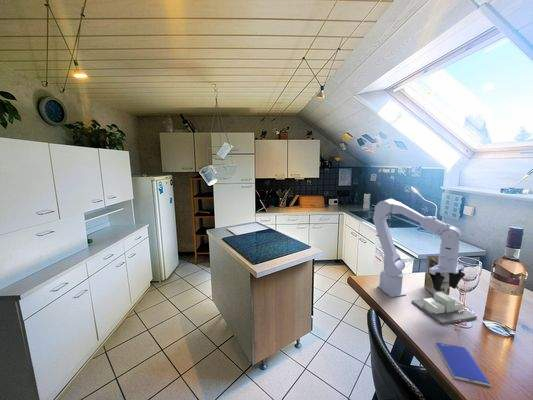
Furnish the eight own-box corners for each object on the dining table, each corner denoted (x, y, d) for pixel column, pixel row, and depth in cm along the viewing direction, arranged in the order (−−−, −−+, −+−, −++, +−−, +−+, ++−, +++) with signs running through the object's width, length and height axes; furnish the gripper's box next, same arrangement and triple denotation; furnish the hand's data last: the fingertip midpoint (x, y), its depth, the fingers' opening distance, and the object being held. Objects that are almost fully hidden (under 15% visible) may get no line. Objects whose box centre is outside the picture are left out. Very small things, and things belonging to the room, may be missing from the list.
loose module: (432, 303, 94) (434, 292, 93) (439, 302, 95) (441, 291, 94) (446, 312, 88) (448, 301, 87) (454, 311, 89) (455, 300, 88)
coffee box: (449, 297, 100) (453, 263, 98) (433, 296, 101) (437, 263, 99) (437, 286, 109) (441, 255, 107) (423, 285, 110) (426, 255, 108)
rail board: (411, 302, 97) (412, 293, 97) (442, 298, 100) (443, 289, 99) (441, 324, 84) (443, 314, 83) (476, 318, 86) (478, 308, 86)
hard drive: (436, 341, 74) (454, 375, 63) (465, 347, 72) (490, 383, 60) (435, 346, 75) (453, 379, 63) (465, 351, 72) (489, 387, 61)
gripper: (442, 262, 83) (438, 296, 85) (474, 259, 86) (469, 291, 88) (425, 255, 90) (422, 286, 92) (455, 252, 93) (451, 282, 95)
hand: (444, 288), depth 90 cm, fingers open, 7 cm apart
